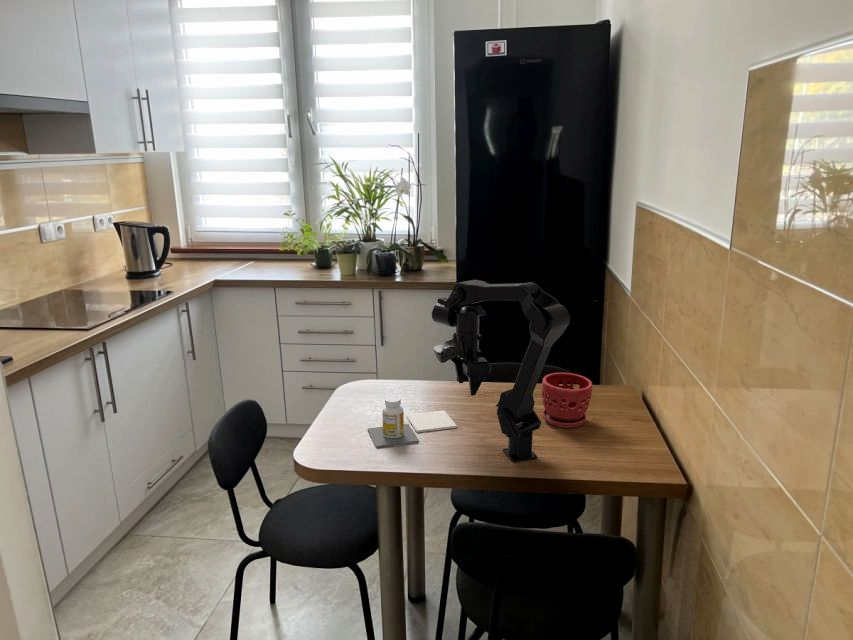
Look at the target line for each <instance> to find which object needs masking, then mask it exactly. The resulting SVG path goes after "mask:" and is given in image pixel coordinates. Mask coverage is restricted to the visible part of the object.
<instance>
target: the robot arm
mask: <svg viewBox="0 0 853 640" xmlns="http://www.w3.org/2000/svg"><path fill="white" fill-rule="evenodd" d="M485 301H486V302H487V301H488V302H493V301H494V302H497V301H498V302H500V301H501V302H502V301H503V302H505V301H507V302H509V301H510V302H513V301H514V302H518V303H519V304H520V306H521V309H522V312H523V315H524V317H525V318H526V319H527V320H528V321H529V322H530V323H529V329H528V330H529V334H530V342H529V344H528V347H527V350H526V352H525V355H524V357H523V360H522V363H521V365H520V368H519V370H518V373H517V376H516V379H515V381H514V383H513V387H512V388H510V389H507V390H505V391H502V392H501V394H500V396H499V400H498V402H497V404H495V407H497V408H496V415H497V419H498V422H499V426H500V431H501V433H502V434H504V435H505V437H506V438H508V441H507V443H508V445H507V447H506V448H505V447H504V448H503V449H502V452H503V453H504V454H505V455H506V456H507V458H509V460H510V461H511V462H514V463H515V462H522V461H529V460H530V461H531V460H536V459H538V455H537V454H536V453H535V452H534V451H533V435H534V434H533V433H534V431H536V430H537V431H538V430H540V428H541V425H542V421H541V419H540V417H539V415H538V414H537V413H536V412H535V411H536V410H534V407H535V404H536V403H535V399H534V392H535V389H536V388H537V387H536V386H537V385H538V382H539V379H540V376H541V374H542V371H543V369H544V367H545V364H546V362H547V360H548V357H549V355H550V351H551V348H552V346H553V345H554V344H555V343H556V342H557V341H558V339H559V338H560V337H561V336H562V335H563V334H564V333H565V331H566V329H567V328H568V326H569V325H570V323H571V315H570V313H569V310H568V309H567V308H566V307H565V306H564V305H563V304H561V303H560V302H559V301H558V300H557V299H556V298H555V296H552V295H551V294H549V293H548V292H546V291H544V290H542V288H541V287H540V286H539V284H537V283H535V282H533V281H532V282H531V281H530V282H525V283H492V284H491V283H488V282H487V281H483V280H479V279H472V280H471V279H470V280H466V281H460V282H456V283H455V284H454V286H453V288H452V291H451V293H450V294H449V296H448V298H447V297H444V296H443V297H440V298H439V297H438V298H437V303H435V304H434V307H433V308H432V311H431V318H432V320H433V321H434V322H435V323H436V324H440V325H442V326H443V325H444V326H448V327H451V328H455V330H456V331H455V332H453V333H452V338H451V339H449V340H446V341H443V342H442V343H439V344H437V345H435V346H433V347H432V349H433V352H434V355H435V357H436V359H437V360H438V361H439V362H440V363H441V364H444V363H447V362H448V361H452V363H453V366H454V370H455V373H456V376H457V381H458V383H459V384H464V382H465V378H466V377H467V379H468V386H469V393H470V396H472V397H473V396H476V395H477V393H478V390H479V389H480V387H481V385H482V384H483V381H484V380H485V378H486V376H487V375H489V373H491V372H492V363H490V361H489V360H487V359H486V358H485V357H483V356H482V350H480V346H479V345H480V341H481V340H482V337H483V336H482V335H481V334H480V317H482V316H485V315H487V312H486V311H485V309H483V307H481V305H480V304H478V305H474V306H470V305H472V304H476V303H480V302H485ZM535 304H536V305H538V306H539V307H540V308H538V307H537V306H536V305H535ZM479 356H480V357H479Z"/></svg>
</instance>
